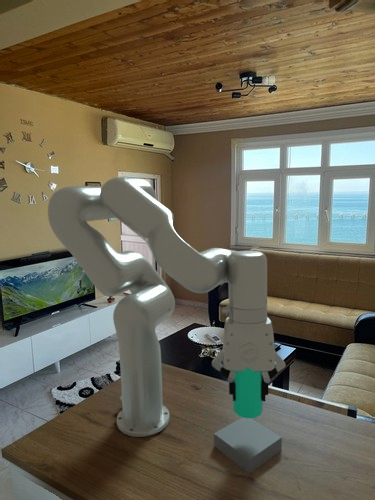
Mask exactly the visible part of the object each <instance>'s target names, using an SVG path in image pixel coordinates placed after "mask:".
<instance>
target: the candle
mask: <svg viewBox="0 0 375 500" xmlns="http://www.w3.org/2000/svg"><path fill="white" fill-rule="evenodd" d="M234 382H235V384H236V400H235V401H233V400H232V401H233V402H232V407H233V411H234V414H236V415H237V416H239V417H241V418H242V417H244V418H252V419H255V418H257V417H259V416H261V415H262V413H263V407H264V406H263V405H264V404H263V402H264V401H262V386H261V383H262V373H261V372H256V371H252V369H251V368H245V371H240V372H238V371H235V378H234Z"/></svg>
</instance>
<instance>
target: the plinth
mask: <svg viewBox="0 0 375 500" xmlns="http://www.w3.org/2000/svg"><path fill="white" fill-rule="evenodd" d="M282 442H283V437H282V436H280V435H279V434H277V433H275V432H274V431H272V430H271V429H270V428H267V427H266V426H264V425H262V424H261V423H259V422H258V421H256V420H255V419H254V418H244V417H241V418H239V419H237V420H235V421H233V422H231V423H230V424H228V425H226V426H225V427H223V428H221V429H219V430H217V431H216V432H214V433H213V447H214V448H216V449H217V450H218V451H219V452H221V453H222V454H223V455H225V456H226V457H227V458H229V459H230V460H231V461H232V462H233V463H235V464H236V465H237V466H238V467H240V468H241V469H243V470H244V472H246V473H247V474H250V473H253V471H255V470H257V469H258V468H259V467H260V466H262V465H263V464H264V463H266V462H268V461H269V460H270V459H272V458H273V457H275V456H276V455H277V454H279V453H280V452H282V450H283V449H282V448H283V447H282V445H283V443H282Z"/></svg>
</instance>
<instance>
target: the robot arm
mask: <svg viewBox="0 0 375 500" xmlns="http://www.w3.org/2000/svg"><path fill="white" fill-rule="evenodd" d="M174 216H175V215H174V213H173V211H172V210H170V209H169V208H168V207H167V206H165V205H164V204H162V203H161V202H159V201H158V200H157V199H156V192H155V190H154V187H153V186H152V185H151V184H150V183H149V182H148V181H147V180H145V179H143V178H141V177H128V176H116V177H113V178H110V179H108V180H107V181H105V182H104V184H103V185H97V186H96V185H70V186H65V187H62V188H59V189H58V190H56V191H54V192H53V193H52V195H51V196H50V198H49V201H48V205H47V218H48V223H49V226H50V228H51V230H52V233H54V235H55V236H56V238H57V239H58V241H59V243H61V244H62V245H63V247H65V249H67V251H68V252H69V253H70V254H71V255H72V257H73V258H74V259H75V261H76V262H77V264H78V265H79V267H80V269H82V270H83V272H84V273H85V275H86V276H87V278H88V279H89V280H90V282H91V283H92V285H94V287H95V288H96V289H97V290H98V292H99V293H100V294H102V295H103V296H105V297H116V296H118V295H120V294H123V293H125V292H128V291H130V293H129V294H127V295H126V296H124V297H123V298H121V299H120V300H119V301H118V302H117V304H116V305H115V308H114V310H113V313H112V314H113V315H112V317H113V319H112V321H113V324H114V329H115V332H116V337H117V341H118V351H119V364H120V365H119V367H120V381H121V395H120V396H119V399H120V400H121V403H122V409H121V410H120V411H118V414H117V417H116V426H117V428H118V430H119V431H120V432H121V433H122V434H124V435H127V436H130V437H135V438H136V437H138V438H139V437H140V438H142V437H149V436H153V435H155V434H158V433H159V432H161V431H163V430H164V429H165V428H166V427H167V426H168V424H169V422H170V418H171V417H170V411H169V409H168V407H166V406H165V405H163V402H164V401H163V379H162V376H163V375H162V374H163V373H162V354H161V353H162V352H161V344H160V341H159V339H158V336H157V333H156V328H157V327H158V326H159V325H160V324H161V323H163V322H165V320H166V319H167V320H168V318H169V317H171V315H172V314H173V313H174V311H175V309H176V308H175V307H176V300H175V297H174V294H173V292H172V290H171V288H170V287H169V285H168V284H167V283H166V281H165V280H164V279H163V277H162V276H161V275H160V273H158V271H157V270H156V269H155V267H154V266H153V265H152V264H151V262H150V261H149V259H147V258H146V257H145V256H144V255H143V254H141V253H139V252H138V251H135V250H125V251H120V252H118V251H116V249H114V248H113V246H112V245H111V244H110V243H109V242H108V240H107V238H106V237H105V236H104V235H103V234H102V233H100V231H98V230H97V229H95V228H94V227H93V226H91V225H90V224H89V223H88V222H93V221H102V220H110V219H115V218H116V219H117V220H119V221H120V222H121V223H122V224H124V225H125V226H126V227H127V228H128V229H130V230H131V231H132V232H133V233H134V234H135V235H137V236H138V237H139V238H140V239H142V240H143V241H144V242H146V244H147V247H148V249H149V252H150V253H151V255H152V257H153V258H154V260H155V262H156V263H157V265H158V266H159V267H160V269H162V271H164V273H166V274H167V275H168V276H169V277H170V278H172V279H173V280H174V281H175V282H177V283H178V284H179V285H180V286H182V287H183V288H185V289H187V290H189V291H190V292H192V293H196V294H207V293H208V292H210V291H211V292H212V290H214V289H215V288H217V287H218V286H219V285H222V284H224V283H227V284H228V305H227V306H225V307H221V315H226V316H227V317H226V319H225V322H224V328H223V329H224V330H223V339H222V349H221V350H220V352H219V353H218V354H216V356H215V358H213V359H212V361H211V366H212V367H213V368H214V370H216V371H218V372H219V373H220V374H221V375H222V376H223V377H224V378H226V379H227V382H228V394H229V395H230V396H231V395H232V401H235V400H236V384H235V382H234V378H235V371H238V372H240V371H245V368H251V369H252V371H256V372H261V373H262V383H261V386H262V401H263V402H266V396H269V383H270V382H271V380H272V379H273V378H274V377H275V376H276V375H277V374H278V373H279V372H281V371H282V370H283V369H285V368H286V365H287V364H286V363H285V361H284V359H283V358H282V357H281V356H280V355H279V354H278V353H277V351H276V350H275V337H274V335H275V334H274V329H273V328H274V327H273V324H272V323H273V322H272V320H271V319H270V318H269V317H268V258H267V256H266V255H265V253H263V252H261V251H256V250H239V251H237V250H232V249H226V248H221V247H220V248H219V247H211V248H207V249H205V250H203V251H200V252H199V251H198V250H196V249H195V248H194V247H192V246H191V245H190V244H189V243H187V242H186V241H185V240H184V239H183V238H182V237H180V235H179V234H178V233H177V232H176V230H175V228H174V225H173V223H174V219H175V218H174ZM222 363H223V364H222Z"/></svg>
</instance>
